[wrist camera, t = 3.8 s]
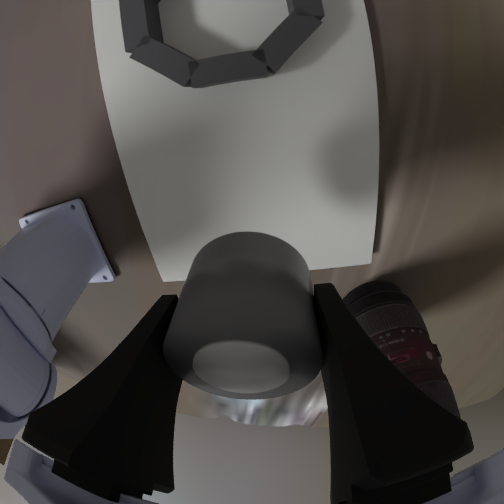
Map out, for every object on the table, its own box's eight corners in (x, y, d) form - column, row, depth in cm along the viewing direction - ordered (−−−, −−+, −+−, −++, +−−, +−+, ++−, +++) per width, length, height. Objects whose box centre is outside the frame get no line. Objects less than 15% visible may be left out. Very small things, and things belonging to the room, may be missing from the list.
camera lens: (361, 261, 20) (424, 452, 8) (423, 288, 21) (484, 431, 9) (310, 325, 24) (325, 486, 12) (372, 341, 26) (402, 472, 13)
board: (166, 273, 21) (154, 301, 19) (97, -15, 8) (72, -24, 6) (367, 255, 20) (379, 282, 17) (339, -60, 6) (352, -80, 4)
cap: (206, 325, 13) (190, 401, 9) (175, 238, 10) (134, 320, 7) (310, 319, 12) (318, 400, 9) (309, 225, 9) (328, 314, 6)
